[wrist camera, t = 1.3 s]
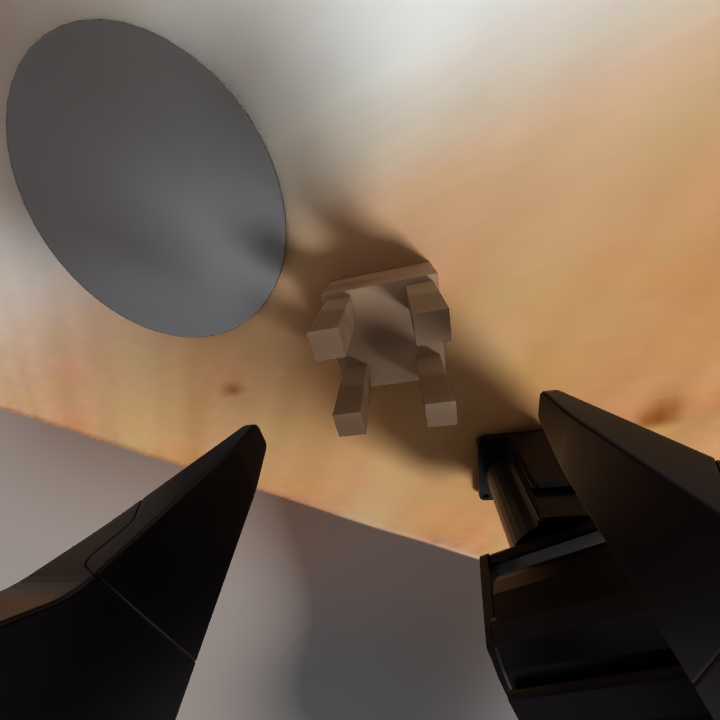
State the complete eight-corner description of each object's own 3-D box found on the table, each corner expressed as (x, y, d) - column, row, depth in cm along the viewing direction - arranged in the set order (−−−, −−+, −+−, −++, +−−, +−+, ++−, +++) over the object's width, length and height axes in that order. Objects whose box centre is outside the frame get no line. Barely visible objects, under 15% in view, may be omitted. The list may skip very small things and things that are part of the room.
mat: (317, 314, 17) (316, 316, 17) (123, 349, 20) (118, 352, 19) (216, -32, 11) (210, -40, 11) (-52, 83, 13) (-64, 80, 13)
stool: (437, 351, 18) (464, 428, 12) (352, 364, 19) (335, 441, 13) (428, 260, 15) (456, 299, 9) (331, 280, 16) (297, 327, 10)
